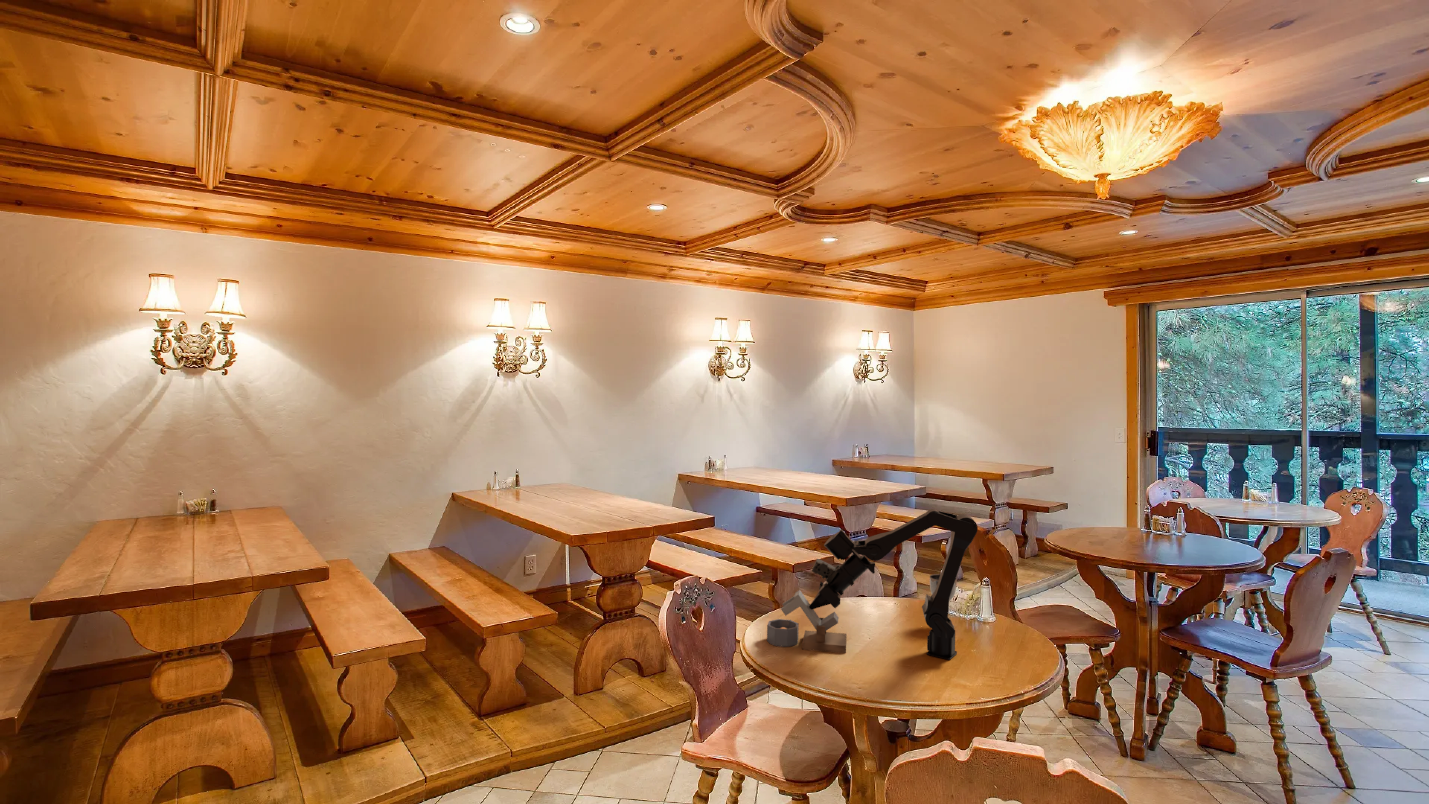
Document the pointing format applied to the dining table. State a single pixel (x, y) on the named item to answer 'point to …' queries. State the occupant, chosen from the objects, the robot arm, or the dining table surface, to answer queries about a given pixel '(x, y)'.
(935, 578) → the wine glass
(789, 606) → the lever
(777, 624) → the cup
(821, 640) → the base
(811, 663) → the dining table surface
